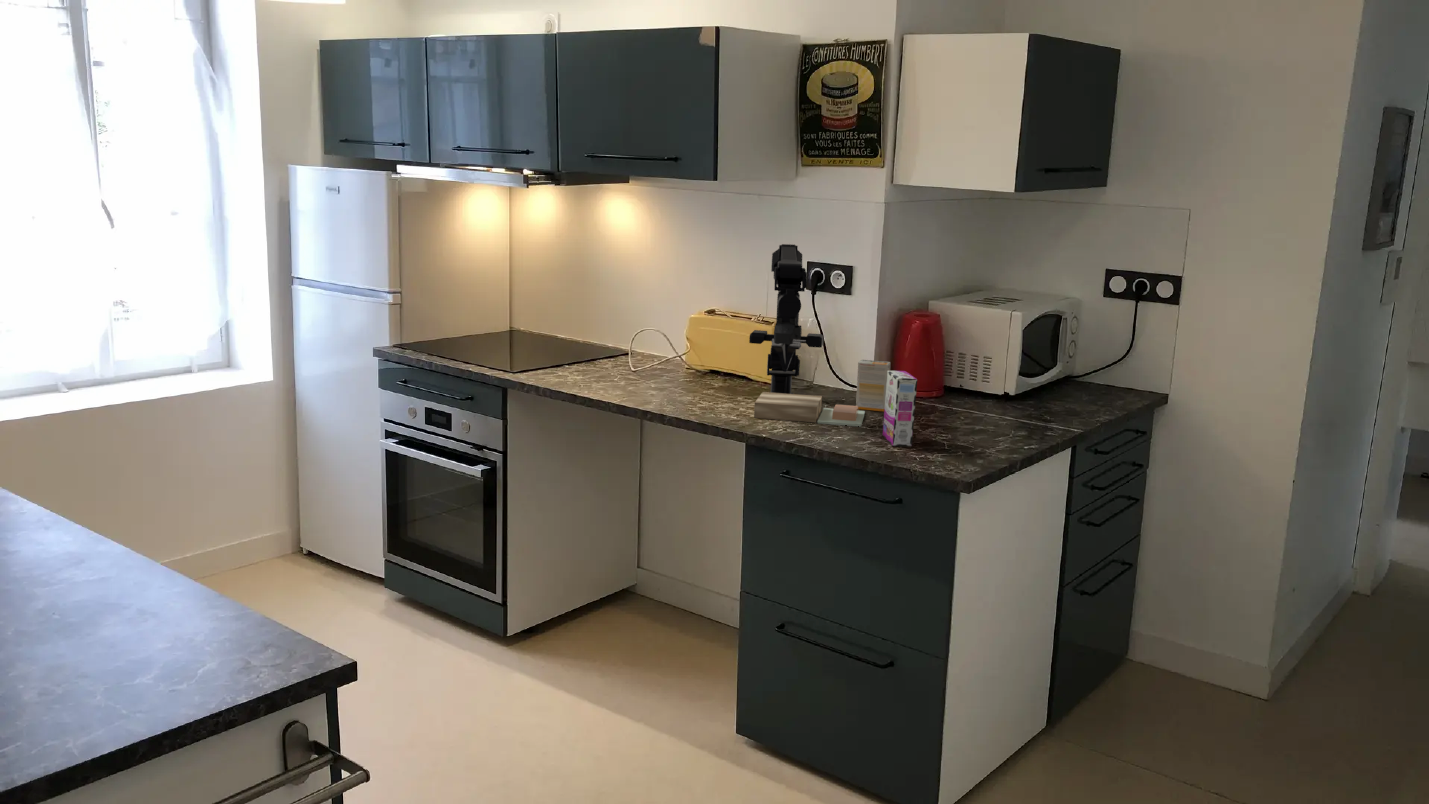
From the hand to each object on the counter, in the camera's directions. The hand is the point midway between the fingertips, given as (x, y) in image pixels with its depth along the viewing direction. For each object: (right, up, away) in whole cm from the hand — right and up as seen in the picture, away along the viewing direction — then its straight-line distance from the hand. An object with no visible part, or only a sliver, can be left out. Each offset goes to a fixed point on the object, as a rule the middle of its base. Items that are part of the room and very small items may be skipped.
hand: (785, 371), depth 290 cm
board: (+1, -11, +2) cm, 11 cm away
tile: (+16, -10, -1) cm, 19 cm away
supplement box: (+24, -10, +12) cm, 29 cm away
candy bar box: (+26, -18, -22) cm, 38 cm away
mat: (+15, -12, 0) cm, 19 cm away
